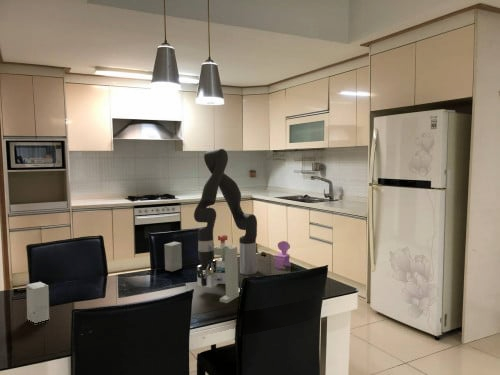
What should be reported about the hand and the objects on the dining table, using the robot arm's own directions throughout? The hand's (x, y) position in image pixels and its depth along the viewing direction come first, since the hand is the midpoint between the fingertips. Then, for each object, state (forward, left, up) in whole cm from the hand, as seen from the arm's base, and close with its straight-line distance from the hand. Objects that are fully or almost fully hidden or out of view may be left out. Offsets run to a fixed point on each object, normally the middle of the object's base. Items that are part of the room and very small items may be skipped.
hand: (207, 284), depth 188 cm
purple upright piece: (-56, +14, -4) cm, 58 cm away
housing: (0, 0, 0) cm, 0 cm away
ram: (0, +10, +10) cm, 14 cm away
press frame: (0, +12, -4) cm, 12 cm away
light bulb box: (-19, -3, -4) cm, 20 cm away
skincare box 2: (-26, -43, -4) cm, 50 cm away
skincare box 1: (+57, -44, -4) cm, 72 cm away
